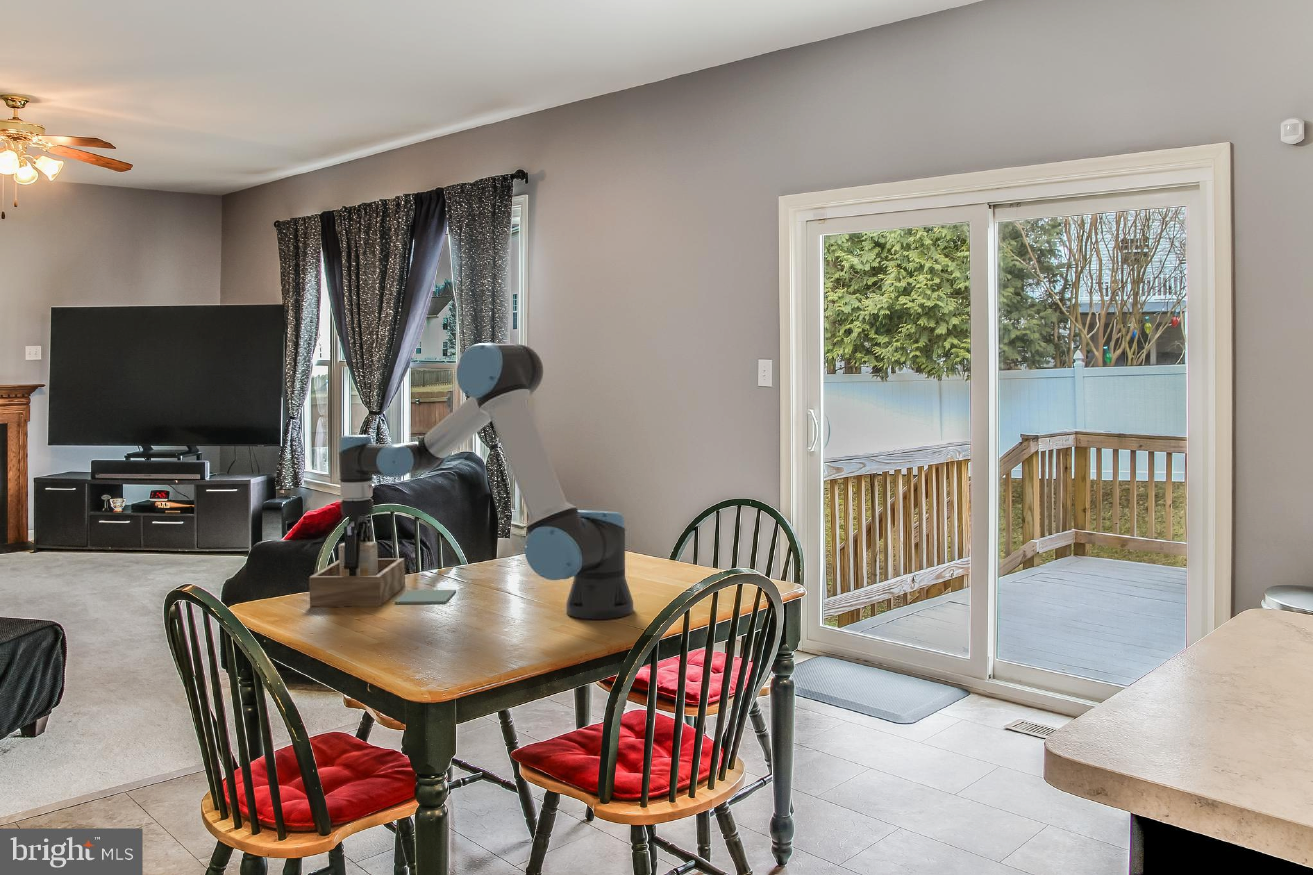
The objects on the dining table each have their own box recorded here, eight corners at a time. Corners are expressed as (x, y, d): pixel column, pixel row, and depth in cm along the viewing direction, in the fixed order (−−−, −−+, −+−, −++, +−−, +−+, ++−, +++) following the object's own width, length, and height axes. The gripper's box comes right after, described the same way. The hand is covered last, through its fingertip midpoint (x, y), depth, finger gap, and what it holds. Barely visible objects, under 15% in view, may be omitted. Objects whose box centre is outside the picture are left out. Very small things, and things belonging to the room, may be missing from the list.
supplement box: (379, 593, 239) (378, 541, 238) (372, 598, 234) (370, 544, 234) (347, 593, 240) (346, 541, 239) (339, 597, 235) (337, 544, 234)
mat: (445, 603, 228) (445, 601, 228) (394, 603, 228) (394, 601, 228) (456, 592, 240) (456, 589, 240) (407, 592, 240) (407, 590, 240)
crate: (380, 606, 226) (379, 576, 226) (309, 606, 226) (309, 577, 226) (405, 585, 248) (404, 558, 248) (341, 585, 248) (340, 558, 248)
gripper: (359, 503, 226) (362, 600, 227) (384, 493, 246) (386, 582, 247) (327, 504, 226) (330, 601, 227) (354, 493, 246) (357, 582, 247)
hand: (359, 591), depth 237 cm, fingers open, 7 cm apart
